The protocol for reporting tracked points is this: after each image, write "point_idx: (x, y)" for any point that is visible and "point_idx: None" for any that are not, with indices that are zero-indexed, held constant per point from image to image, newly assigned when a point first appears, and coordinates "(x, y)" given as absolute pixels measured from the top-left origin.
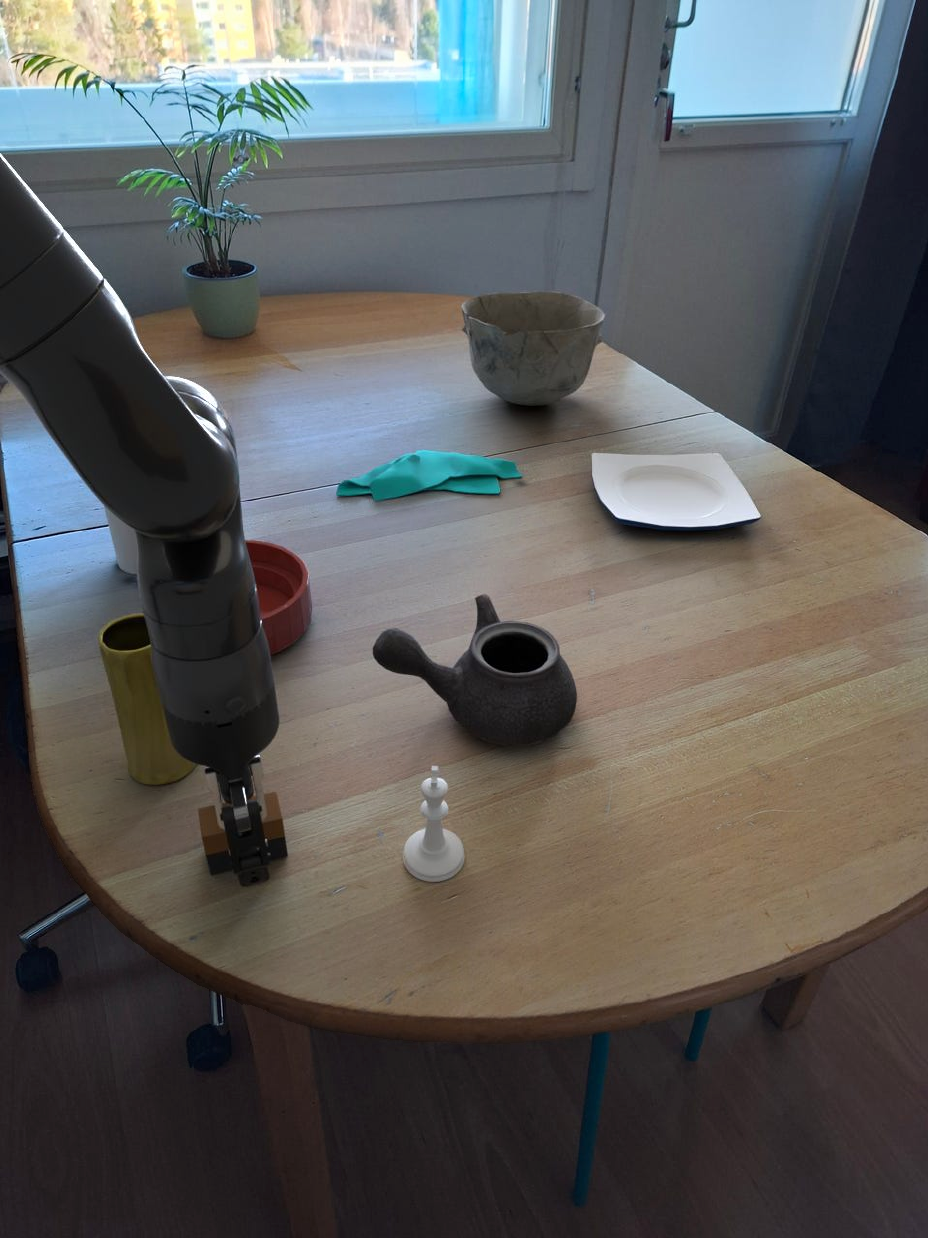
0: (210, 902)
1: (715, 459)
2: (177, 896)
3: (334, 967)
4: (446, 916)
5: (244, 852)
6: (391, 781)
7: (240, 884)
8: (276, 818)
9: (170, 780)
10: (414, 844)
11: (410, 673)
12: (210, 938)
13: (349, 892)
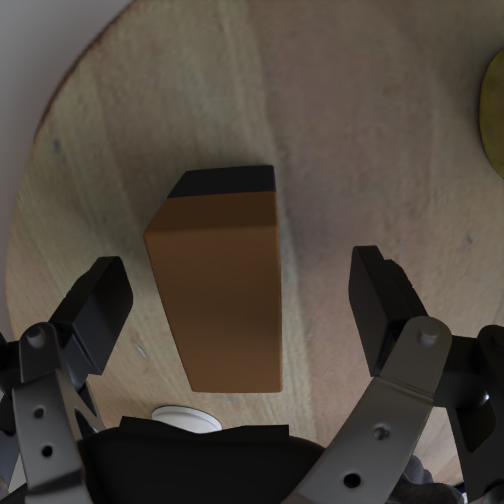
0: (121, 171)
1: (465, 501)
2: (144, 103)
3: (40, 321)
4: (113, 409)
5: (5, 381)
6: (317, 415)
7: (97, 259)
8: (194, 385)
9: (482, 115)
10: (190, 428)
11: (407, 498)
12: (55, 175)
13: (137, 358)
